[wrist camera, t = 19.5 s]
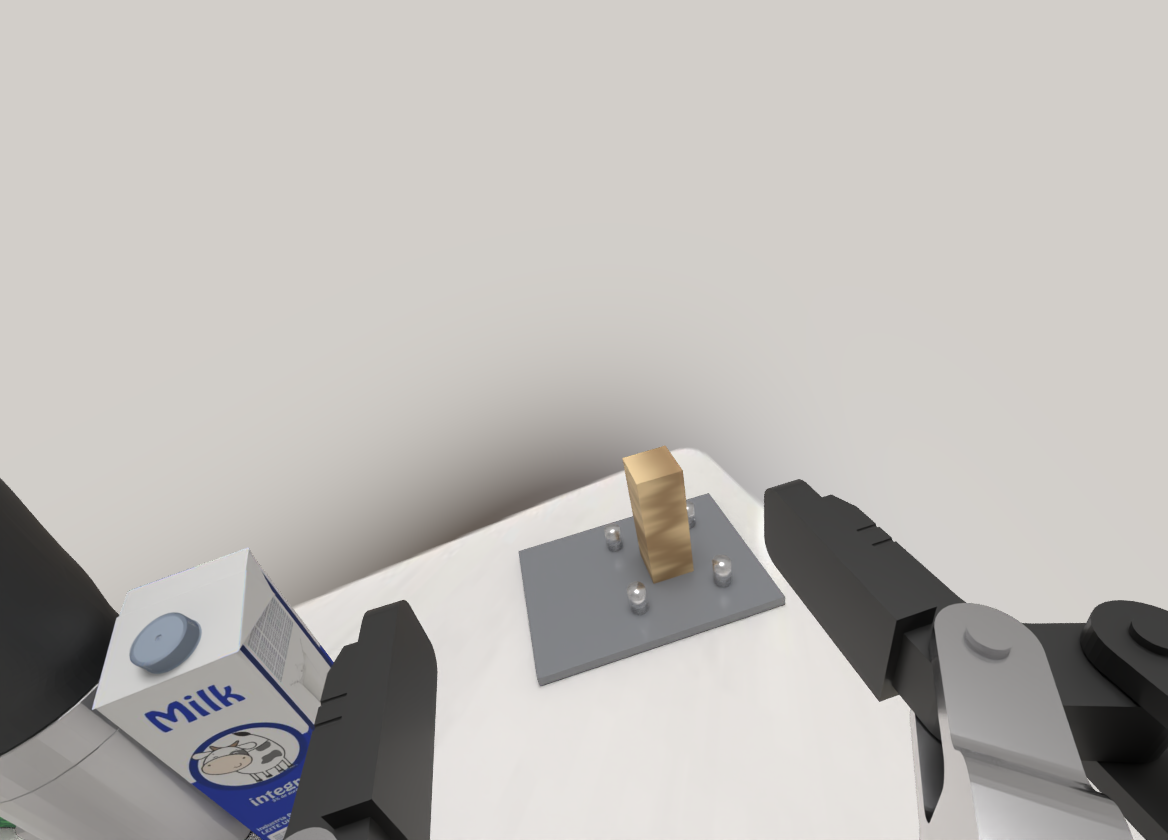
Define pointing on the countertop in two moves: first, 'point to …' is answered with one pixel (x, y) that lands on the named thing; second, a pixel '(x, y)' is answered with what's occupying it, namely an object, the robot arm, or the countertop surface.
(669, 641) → the plate
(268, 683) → the milk carton
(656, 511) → the oak block
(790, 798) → the countertop surface
